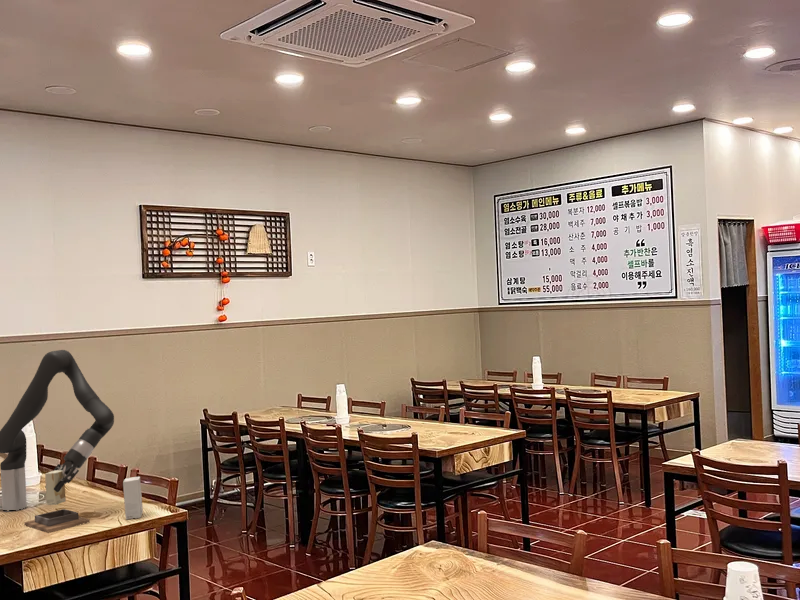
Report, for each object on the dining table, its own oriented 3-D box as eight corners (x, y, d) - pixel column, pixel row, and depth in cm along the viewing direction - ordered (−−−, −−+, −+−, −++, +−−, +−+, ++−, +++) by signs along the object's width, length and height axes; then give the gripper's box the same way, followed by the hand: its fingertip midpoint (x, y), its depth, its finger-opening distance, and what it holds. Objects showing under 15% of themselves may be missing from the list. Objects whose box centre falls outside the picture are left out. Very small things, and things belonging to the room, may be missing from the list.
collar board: (24, 525, 304) (23, 515, 304) (64, 515, 317) (64, 506, 317) (48, 532, 291) (47, 522, 291) (89, 522, 303) (89, 512, 303)
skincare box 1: (56, 505, 301) (54, 473, 301) (46, 505, 301) (44, 473, 302) (66, 501, 307) (64, 469, 307) (56, 501, 308) (54, 469, 308)
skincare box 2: (141, 518, 305) (139, 479, 306) (124, 520, 304) (122, 481, 304) (143, 513, 314) (141, 475, 314) (127, 514, 312) (125, 477, 312)
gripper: (63, 446, 315) (35, 482, 306) (81, 449, 305) (52, 486, 296) (77, 457, 319) (49, 493, 310) (94, 460, 309) (67, 497, 300)
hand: (51, 489), depth 303 cm, fingers closed on skincare box 1, 6 cm apart
